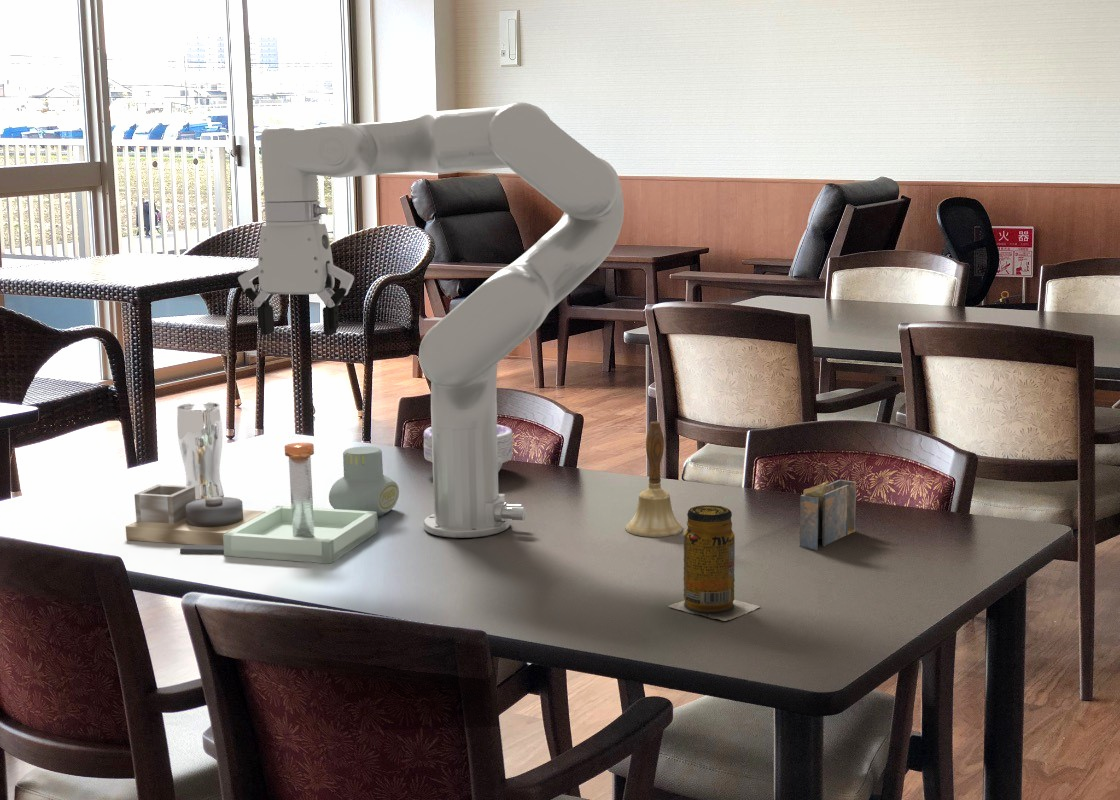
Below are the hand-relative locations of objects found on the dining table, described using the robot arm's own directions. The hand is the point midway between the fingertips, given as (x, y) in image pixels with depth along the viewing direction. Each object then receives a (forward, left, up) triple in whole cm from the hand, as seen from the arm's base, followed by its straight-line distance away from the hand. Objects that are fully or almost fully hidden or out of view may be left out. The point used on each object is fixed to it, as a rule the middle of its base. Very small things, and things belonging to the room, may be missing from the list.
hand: (298, 333), depth 195 cm
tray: (-3, +8, -29) cm, 30 cm away
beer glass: (+25, -13, -29) cm, 40 cm away
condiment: (-64, +22, -29) cm, 74 cm away
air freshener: (-5, -9, -29) cm, 31 cm away
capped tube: (-3, +8, -28) cm, 29 cm away
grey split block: (-75, -10, -30) cm, 81 cm away
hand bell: (-50, -10, -29) cm, 59 cm away
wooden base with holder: (+15, +6, -29) cm, 33 cm away
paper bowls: (-12, -37, -29) cm, 49 cm away
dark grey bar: (+5, +14, -29) cm, 32 cm away
